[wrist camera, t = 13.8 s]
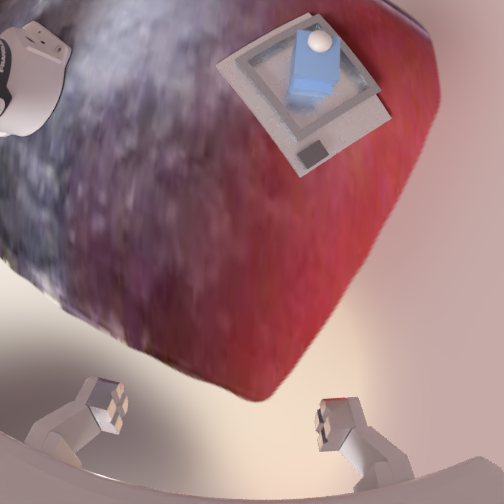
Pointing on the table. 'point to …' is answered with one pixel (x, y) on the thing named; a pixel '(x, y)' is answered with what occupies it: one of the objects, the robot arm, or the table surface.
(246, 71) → the grey tray
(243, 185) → the table surface
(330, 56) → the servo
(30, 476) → the robot arm
